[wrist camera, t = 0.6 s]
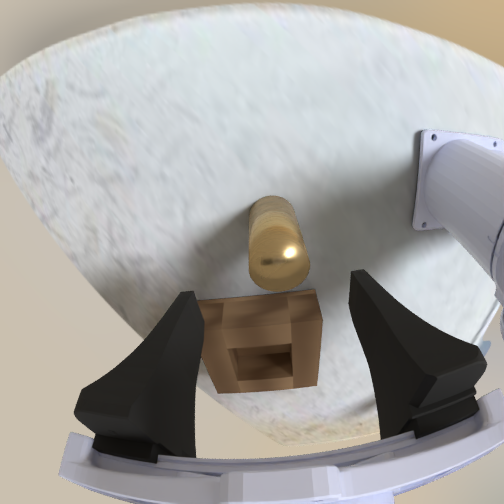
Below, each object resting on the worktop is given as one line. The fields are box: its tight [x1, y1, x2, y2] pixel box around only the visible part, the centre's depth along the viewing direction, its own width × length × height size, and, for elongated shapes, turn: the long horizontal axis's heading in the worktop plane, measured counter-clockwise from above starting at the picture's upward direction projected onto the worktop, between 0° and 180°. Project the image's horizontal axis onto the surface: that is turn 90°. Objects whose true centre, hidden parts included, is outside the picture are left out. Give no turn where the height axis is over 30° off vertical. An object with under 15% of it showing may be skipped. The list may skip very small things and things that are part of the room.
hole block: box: [197, 289, 323, 394], centre depth 25 cm, size 10×10×4 cm
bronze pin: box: [249, 196, 310, 292], centre depth 17 cm, size 3×3×6 cm
